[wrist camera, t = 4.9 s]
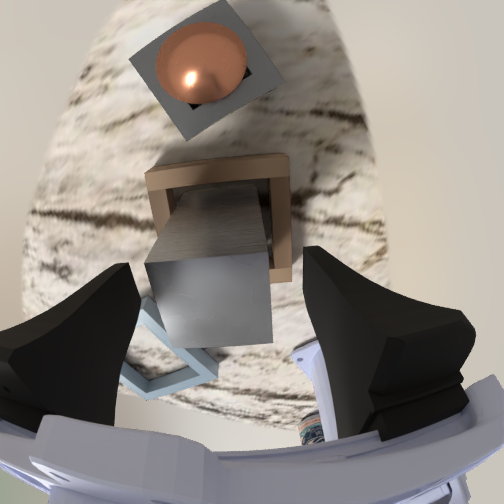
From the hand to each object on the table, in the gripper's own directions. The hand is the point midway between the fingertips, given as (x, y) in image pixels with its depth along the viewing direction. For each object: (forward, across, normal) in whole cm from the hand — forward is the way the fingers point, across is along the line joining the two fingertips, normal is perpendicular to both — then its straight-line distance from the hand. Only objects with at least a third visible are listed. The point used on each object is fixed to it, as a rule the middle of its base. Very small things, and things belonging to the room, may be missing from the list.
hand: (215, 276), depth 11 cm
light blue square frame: (+6, +8, +11) cm, 15 cm away
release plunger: (+5, 0, -8) cm, 10 cm away
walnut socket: (+6, 0, 0) cm, 6 cm away
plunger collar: (+6, 0, -8) cm, 10 cm away
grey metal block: (+6, 0, 0) cm, 6 cm away
